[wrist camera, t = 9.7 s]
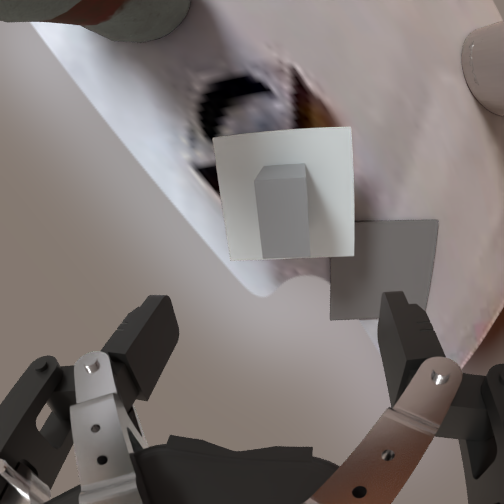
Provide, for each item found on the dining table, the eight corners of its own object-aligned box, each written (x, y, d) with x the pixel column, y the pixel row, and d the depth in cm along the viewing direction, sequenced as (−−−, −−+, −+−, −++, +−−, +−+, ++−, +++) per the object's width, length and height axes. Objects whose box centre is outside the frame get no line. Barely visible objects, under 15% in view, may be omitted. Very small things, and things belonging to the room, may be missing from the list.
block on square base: (349, 126, 21) (364, 131, 16) (353, 252, 25) (363, 288, 20) (214, 137, 23) (190, 145, 18) (231, 257, 27) (215, 293, 22)
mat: (437, 219, 28) (438, 220, 27) (423, 312, 32) (424, 314, 32) (330, 222, 30) (330, 224, 29) (329, 318, 34) (330, 320, 34)
